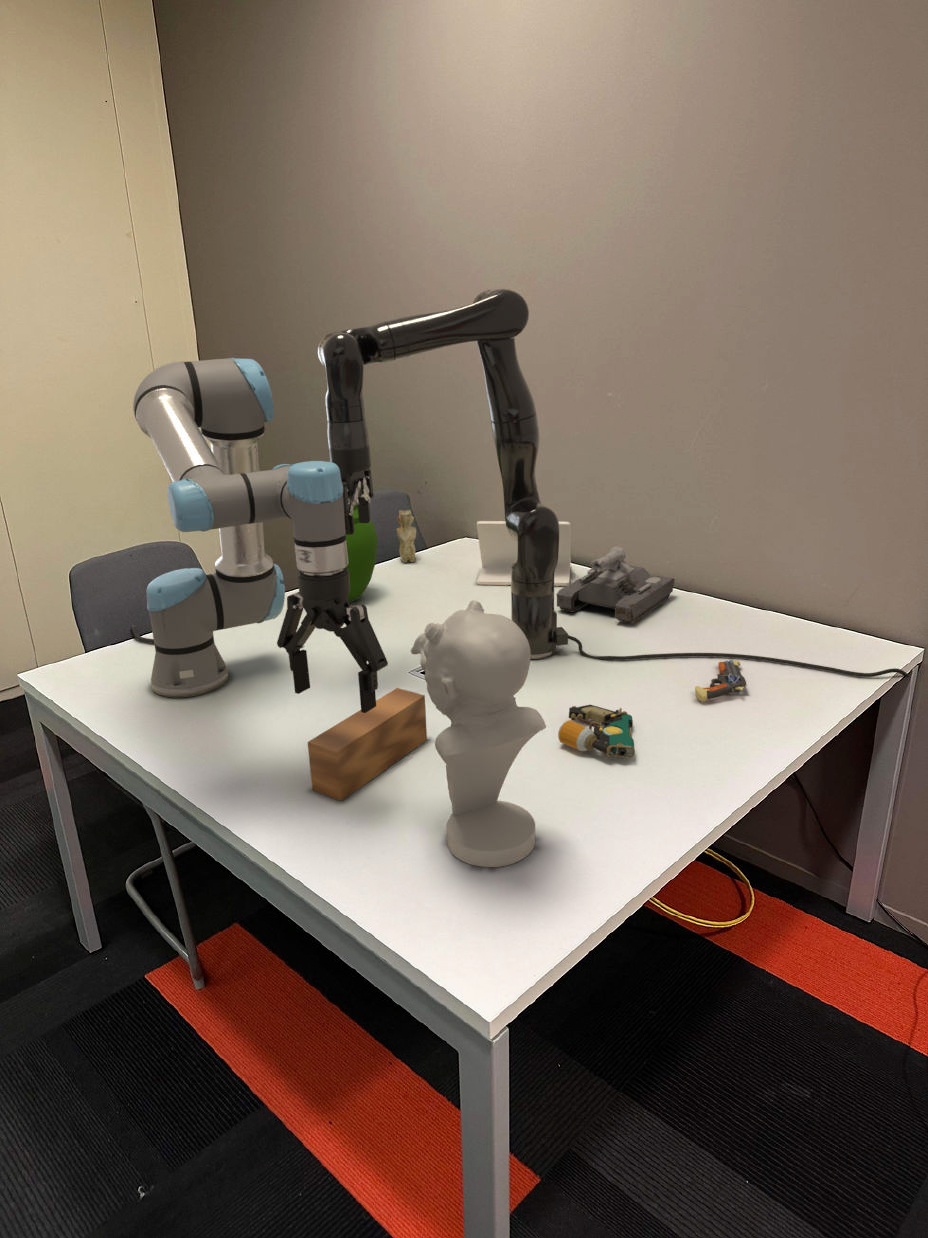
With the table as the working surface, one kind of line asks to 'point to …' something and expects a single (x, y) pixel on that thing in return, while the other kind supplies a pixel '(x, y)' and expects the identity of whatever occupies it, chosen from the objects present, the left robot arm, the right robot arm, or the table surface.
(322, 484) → the left robot arm
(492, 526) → the tablet stand
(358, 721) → the box
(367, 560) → the vase
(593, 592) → the toy
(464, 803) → the bust sculpture
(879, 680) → the table surface
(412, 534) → the sculpture
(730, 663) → the toy gun
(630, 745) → the spray gun
